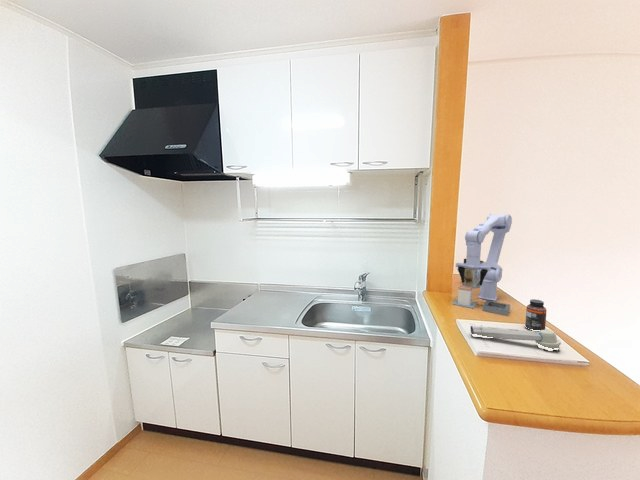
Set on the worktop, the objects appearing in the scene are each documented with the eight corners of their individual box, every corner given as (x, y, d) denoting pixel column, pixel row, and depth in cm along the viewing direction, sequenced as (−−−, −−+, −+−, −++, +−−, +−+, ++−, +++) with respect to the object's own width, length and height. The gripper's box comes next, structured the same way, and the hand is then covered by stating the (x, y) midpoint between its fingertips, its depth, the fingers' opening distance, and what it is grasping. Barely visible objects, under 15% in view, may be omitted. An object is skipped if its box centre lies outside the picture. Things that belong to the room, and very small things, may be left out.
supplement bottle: (540, 327, 104) (543, 299, 102) (547, 334, 98) (550, 304, 97) (522, 325, 106) (524, 297, 104) (528, 331, 100) (531, 302, 99)
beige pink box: (460, 300, 133) (461, 285, 132) (471, 302, 130) (472, 286, 129) (457, 303, 129) (458, 287, 129) (469, 305, 126) (470, 289, 125)
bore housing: (486, 305, 128) (486, 300, 128) (510, 309, 122) (510, 304, 122) (482, 310, 121) (482, 305, 121) (507, 316, 115) (508, 310, 115)
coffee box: (461, 284, 165) (463, 258, 163) (470, 283, 166) (471, 258, 165) (473, 288, 156) (475, 261, 154) (482, 287, 158) (484, 260, 156)
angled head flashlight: (469, 323, 99) (555, 325, 88) (471, 340, 99) (557, 345, 89) (471, 328, 94) (562, 332, 84) (473, 347, 94) (563, 353, 84)
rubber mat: (456, 299, 136) (456, 298, 136) (477, 303, 130) (477, 302, 130) (452, 304, 129) (452, 303, 129) (473, 308, 124) (473, 307, 123)
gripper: (454, 255, 128) (453, 282, 130) (489, 258, 119) (487, 288, 120) (458, 253, 134) (456, 279, 135) (492, 256, 124) (490, 284, 126)
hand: (471, 283), depth 128 cm, fingers open, 7 cm apart
